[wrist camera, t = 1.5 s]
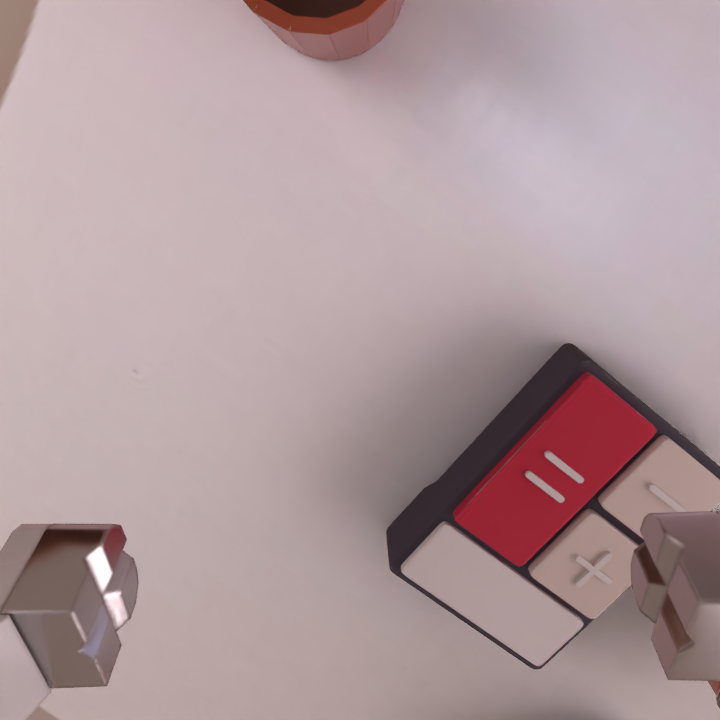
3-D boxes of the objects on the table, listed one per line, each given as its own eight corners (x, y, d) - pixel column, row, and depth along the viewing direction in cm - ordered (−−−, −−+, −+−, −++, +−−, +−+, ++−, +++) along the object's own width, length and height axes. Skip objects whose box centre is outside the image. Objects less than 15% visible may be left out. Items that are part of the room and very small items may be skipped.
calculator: (750, 491, 32) (541, 684, 35) (704, 454, 36) (521, 629, 39) (592, 359, 30) (386, 578, 33) (562, 335, 34) (382, 532, 37)
